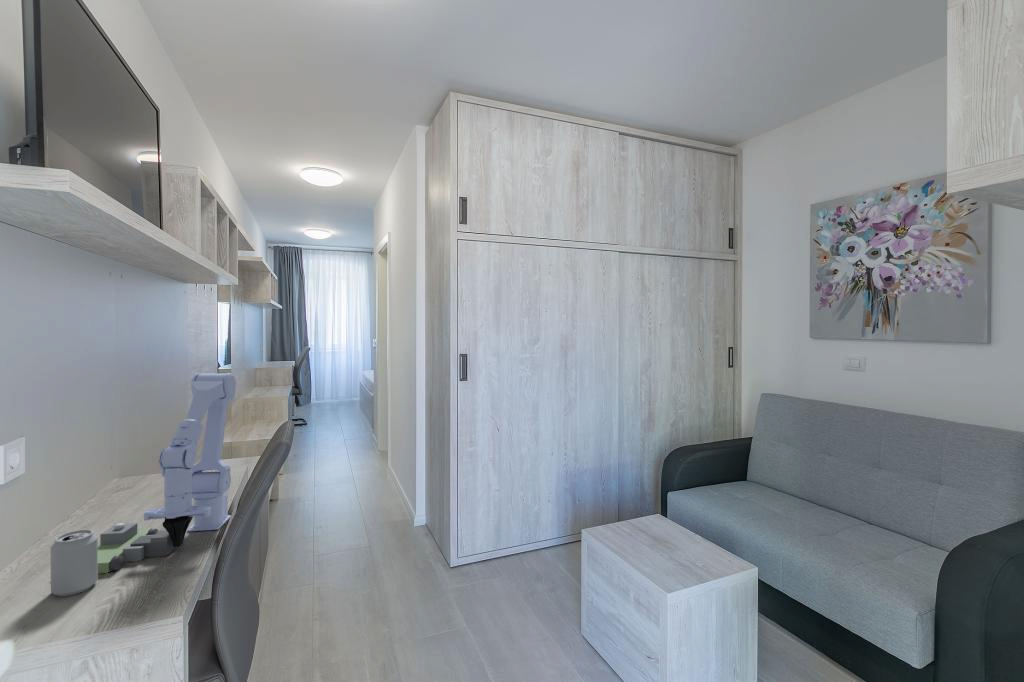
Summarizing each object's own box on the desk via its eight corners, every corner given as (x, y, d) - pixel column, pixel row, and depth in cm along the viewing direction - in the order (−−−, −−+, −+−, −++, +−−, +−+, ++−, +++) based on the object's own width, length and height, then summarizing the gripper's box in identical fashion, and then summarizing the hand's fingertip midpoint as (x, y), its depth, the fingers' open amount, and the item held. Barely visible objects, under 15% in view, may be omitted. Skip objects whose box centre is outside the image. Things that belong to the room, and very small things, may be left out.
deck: (108, 541, 124) (108, 518, 124) (169, 537, 127) (169, 514, 127) (55, 577, 106) (55, 550, 106) (127, 571, 109) (127, 545, 109)
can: (62, 582, 104) (62, 529, 104) (104, 577, 107) (103, 525, 106) (42, 601, 97) (42, 544, 97) (87, 594, 100) (87, 539, 99)
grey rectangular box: (140, 549, 119) (140, 531, 119) (175, 547, 121) (175, 529, 121) (130, 558, 115) (130, 539, 115) (166, 555, 117) (166, 537, 116)
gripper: (136, 500, 113) (136, 555, 114) (202, 496, 116) (202, 550, 116) (152, 490, 120) (152, 542, 121) (214, 487, 123) (214, 537, 123)
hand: (178, 545), depth 119 cm, fingers closed
